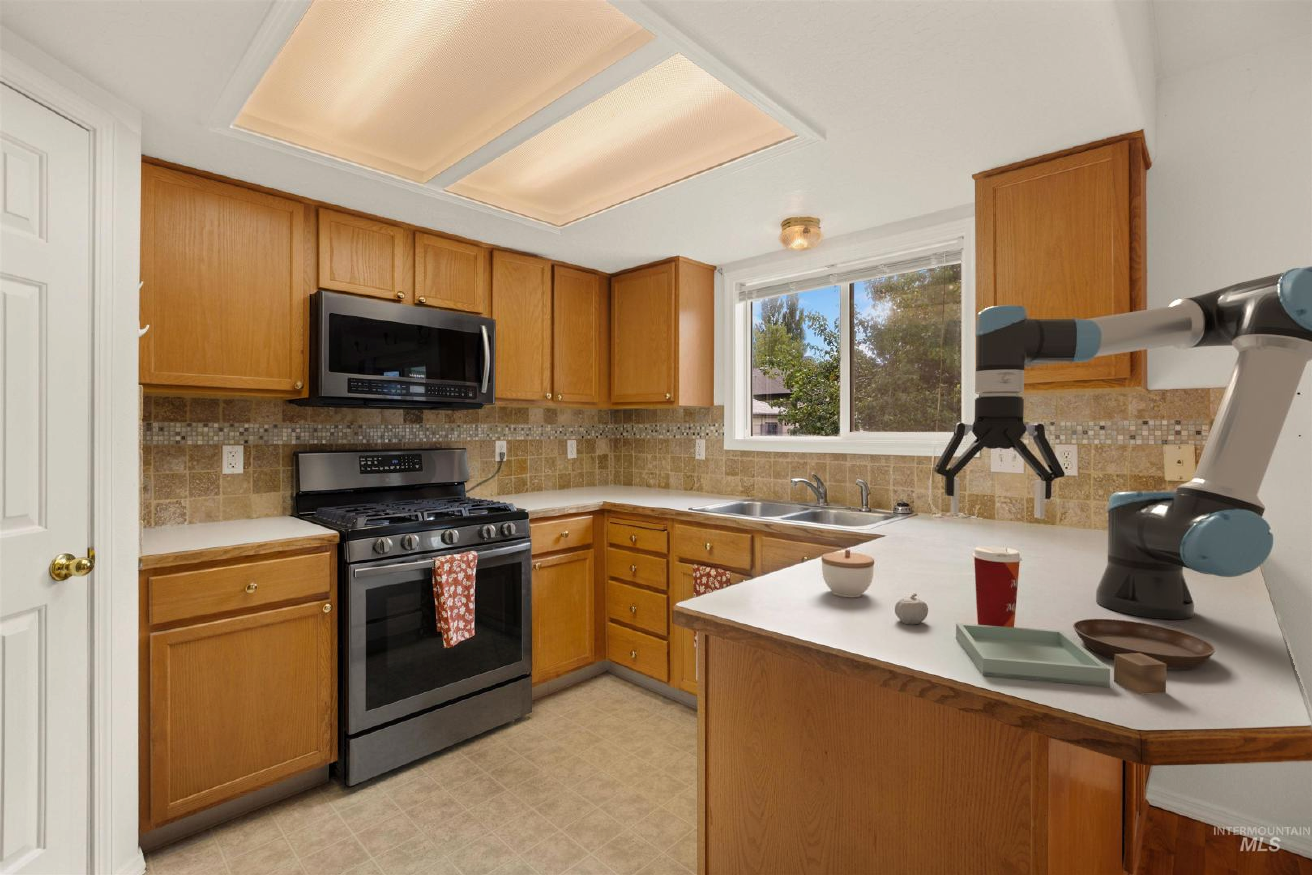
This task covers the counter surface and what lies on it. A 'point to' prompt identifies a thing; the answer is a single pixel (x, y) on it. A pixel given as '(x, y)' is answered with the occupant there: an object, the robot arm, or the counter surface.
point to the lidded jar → (847, 573)
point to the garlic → (911, 610)
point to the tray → (1031, 655)
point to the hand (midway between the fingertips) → (996, 516)
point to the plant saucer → (1144, 642)
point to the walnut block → (1140, 673)
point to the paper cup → (996, 585)
